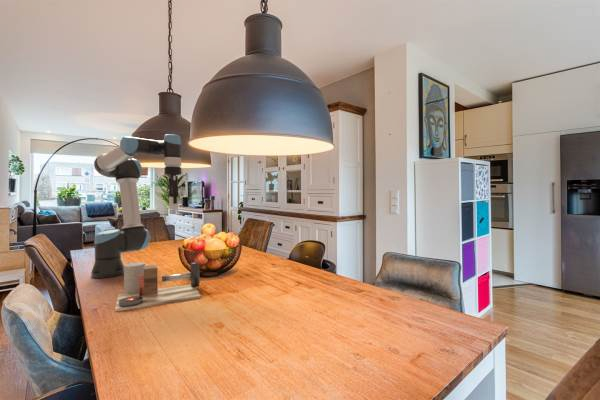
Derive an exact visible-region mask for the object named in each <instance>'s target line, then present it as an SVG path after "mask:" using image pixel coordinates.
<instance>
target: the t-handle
mask: <svg viewBox="0 0 600 400" xmlns="http://www.w3.org/2000/svg"><path fill="white" fill-rule="evenodd" d="M187 279H188V280H189V279H190V285H191V287H196V288H198V287H200V262H196V261H194V262H190V272H188V273H187V272H185V273H177V274H169V275H162V276H161V282H162V283H164V282H172V281H180V280H187Z"/></svg>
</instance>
